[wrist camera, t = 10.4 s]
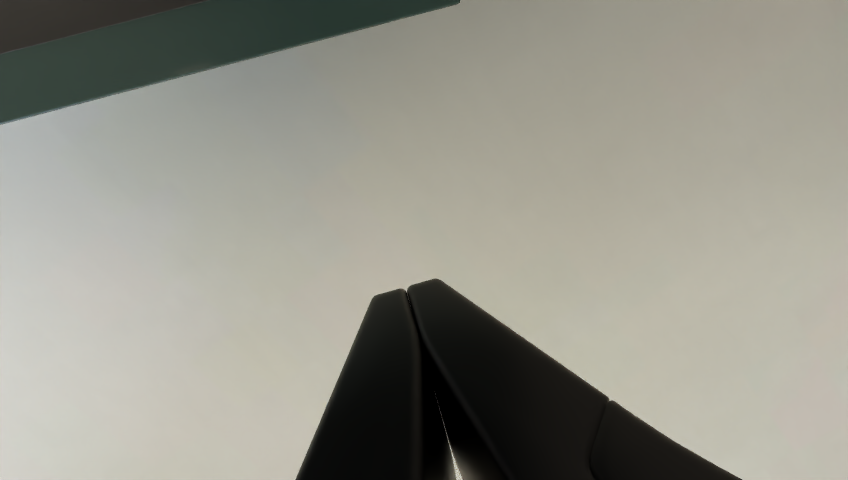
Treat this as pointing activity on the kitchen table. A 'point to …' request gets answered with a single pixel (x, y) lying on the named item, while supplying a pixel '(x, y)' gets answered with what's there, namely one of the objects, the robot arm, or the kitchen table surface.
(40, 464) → the kitchen table surface
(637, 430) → the robot arm
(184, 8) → the toaster
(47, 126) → the kitchen table surface
